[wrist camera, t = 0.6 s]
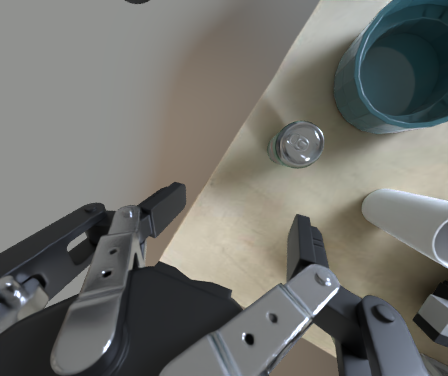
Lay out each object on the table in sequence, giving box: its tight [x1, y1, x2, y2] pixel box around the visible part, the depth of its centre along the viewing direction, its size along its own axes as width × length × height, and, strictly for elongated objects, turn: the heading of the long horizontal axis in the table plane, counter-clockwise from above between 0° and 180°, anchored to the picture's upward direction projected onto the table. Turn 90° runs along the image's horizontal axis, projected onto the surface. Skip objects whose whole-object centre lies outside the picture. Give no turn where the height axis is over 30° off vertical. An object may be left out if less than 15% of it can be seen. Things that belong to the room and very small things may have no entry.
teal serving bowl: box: [334, 0, 448, 134], centre depth 22 cm, size 15×15×6 cm
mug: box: [362, 189, 448, 268], centre depth 22 cm, size 10×7×12 cm, turn 56°
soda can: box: [267, 121, 324, 168], centre depth 23 cm, size 5×5×12 cm
